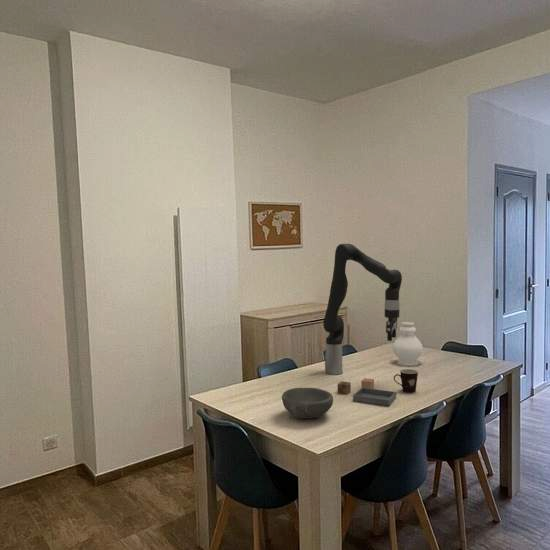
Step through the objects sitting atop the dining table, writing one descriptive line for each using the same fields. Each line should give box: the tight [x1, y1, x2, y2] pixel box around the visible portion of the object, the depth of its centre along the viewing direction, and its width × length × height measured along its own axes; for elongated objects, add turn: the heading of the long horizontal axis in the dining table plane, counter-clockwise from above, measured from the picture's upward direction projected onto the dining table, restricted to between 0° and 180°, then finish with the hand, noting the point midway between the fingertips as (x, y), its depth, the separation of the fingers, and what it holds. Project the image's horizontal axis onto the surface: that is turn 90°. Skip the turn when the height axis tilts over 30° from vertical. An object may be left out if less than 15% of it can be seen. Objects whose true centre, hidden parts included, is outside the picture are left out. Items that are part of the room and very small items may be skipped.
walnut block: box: [337, 381, 352, 396], centre depth 244 cm, size 5×5×5 cm
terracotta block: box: [360, 377, 375, 389], centre depth 248 cm, size 5×5×5 cm
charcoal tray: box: [352, 388, 397, 407], centre depth 232 cm, size 17×13×3 cm
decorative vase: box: [392, 321, 424, 367], centre depth 297 cm, size 18×18×25 cm
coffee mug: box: [393, 368, 419, 394], centre depth 244 cm, size 12×9×10 cm
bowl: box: [281, 387, 334, 419], centre depth 213 cm, size 23×22×10 cm
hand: (391, 339), depth 253 cm, fingers open, 8 cm apart
